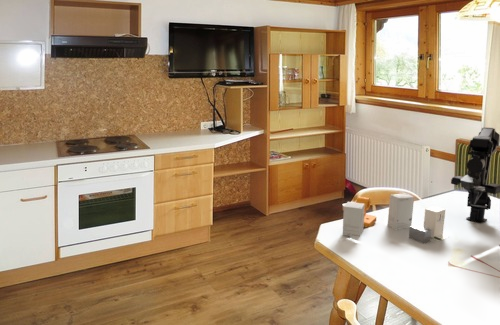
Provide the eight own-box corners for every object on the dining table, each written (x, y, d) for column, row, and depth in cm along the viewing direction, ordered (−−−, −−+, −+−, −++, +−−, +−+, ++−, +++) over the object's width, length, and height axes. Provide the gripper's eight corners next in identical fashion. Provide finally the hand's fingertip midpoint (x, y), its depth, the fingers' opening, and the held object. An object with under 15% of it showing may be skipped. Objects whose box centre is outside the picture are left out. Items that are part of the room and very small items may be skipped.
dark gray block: (414, 236, 179) (415, 224, 178) (430, 241, 174) (431, 229, 172) (408, 238, 177) (409, 226, 176) (424, 244, 171) (425, 232, 170)
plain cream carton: (431, 231, 184) (434, 206, 181) (448, 237, 178) (451, 211, 175) (417, 236, 179) (420, 210, 176) (434, 242, 172) (437, 215, 170)
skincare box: (395, 232, 186) (397, 198, 183) (386, 227, 192) (389, 194, 188) (411, 230, 188) (415, 196, 185) (403, 225, 194) (405, 192, 191)
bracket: (368, 229, 189) (370, 202, 186) (352, 226, 193) (354, 199, 190) (376, 222, 198) (378, 196, 195) (360, 218, 202) (362, 193, 199)
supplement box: (363, 232, 186) (365, 203, 183) (359, 238, 179) (361, 208, 176) (346, 229, 189) (347, 201, 186) (341, 235, 182) (343, 206, 179)
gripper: (445, 166, 184) (441, 201, 187) (490, 175, 169) (485, 214, 172) (460, 162, 190) (456, 197, 194) (505, 171, 175) (500, 209, 179)
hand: (473, 204), depth 184 cm, fingers closed
